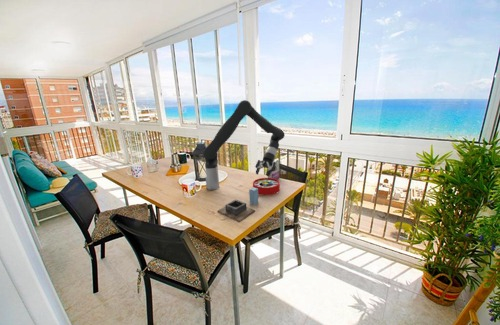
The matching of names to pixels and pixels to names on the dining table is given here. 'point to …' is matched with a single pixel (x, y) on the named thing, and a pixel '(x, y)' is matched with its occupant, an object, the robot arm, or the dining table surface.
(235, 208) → the cradle jig
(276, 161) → the candy bar box
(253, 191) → the light blue square peg
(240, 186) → the dining table surface
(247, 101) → the robot arm
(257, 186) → the toy clock
